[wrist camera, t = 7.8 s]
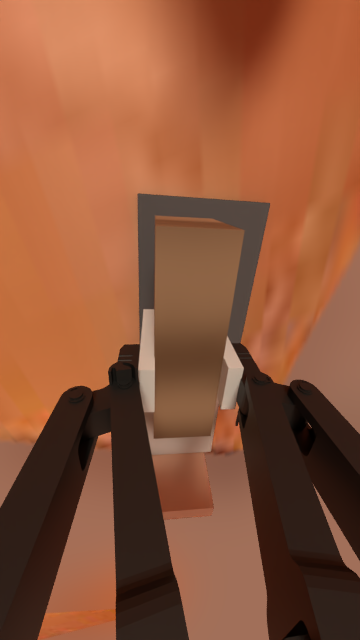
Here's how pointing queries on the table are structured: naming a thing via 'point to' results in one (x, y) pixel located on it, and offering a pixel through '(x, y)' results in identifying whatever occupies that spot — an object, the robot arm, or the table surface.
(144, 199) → the mat
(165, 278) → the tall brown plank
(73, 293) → the table surface
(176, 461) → the tile
